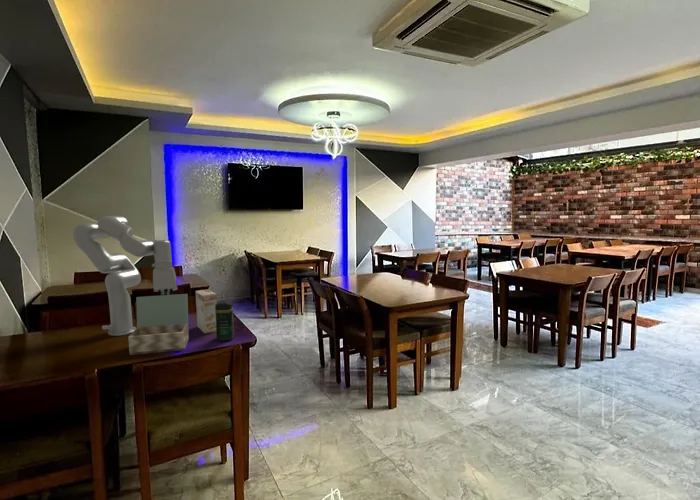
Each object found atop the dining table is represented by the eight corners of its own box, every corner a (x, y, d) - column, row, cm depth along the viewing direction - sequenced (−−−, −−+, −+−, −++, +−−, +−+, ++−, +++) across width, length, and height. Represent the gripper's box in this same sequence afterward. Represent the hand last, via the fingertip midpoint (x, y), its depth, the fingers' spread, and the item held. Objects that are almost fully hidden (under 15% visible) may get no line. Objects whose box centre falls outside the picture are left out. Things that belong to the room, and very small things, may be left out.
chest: (129, 355, 171) (128, 337, 170) (138, 344, 185) (137, 327, 184) (184, 349, 177) (183, 332, 176) (188, 339, 190) (187, 323, 189)
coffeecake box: (218, 331, 203) (216, 293, 201) (204, 333, 199) (202, 295, 197) (210, 324, 215) (208, 288, 213) (197, 326, 211) (194, 290, 209)
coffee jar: (232, 341, 187) (230, 302, 185) (215, 342, 186) (213, 303, 184) (235, 334, 197) (233, 298, 195) (219, 335, 196) (217, 298, 194)
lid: (136, 294, 185) (137, 294, 186) (137, 327, 184) (137, 327, 185) (186, 291, 190) (187, 291, 192) (187, 323, 189) (188, 323, 191)
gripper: (145, 267, 188) (148, 305, 190) (178, 265, 192) (181, 302, 194) (148, 265, 195) (152, 302, 197) (181, 263, 199) (184, 299, 201)
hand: (166, 302), depth 195 cm, fingers closed
